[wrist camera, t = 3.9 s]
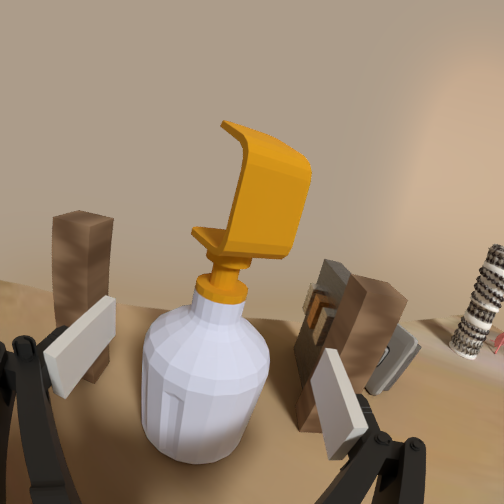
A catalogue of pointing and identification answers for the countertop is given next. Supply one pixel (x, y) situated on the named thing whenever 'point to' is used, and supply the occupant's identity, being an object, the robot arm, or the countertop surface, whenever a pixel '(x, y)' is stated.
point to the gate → (339, 337)
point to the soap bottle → (222, 313)
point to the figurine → (499, 341)
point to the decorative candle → (481, 306)
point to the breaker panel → (319, 315)
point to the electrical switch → (393, 361)
